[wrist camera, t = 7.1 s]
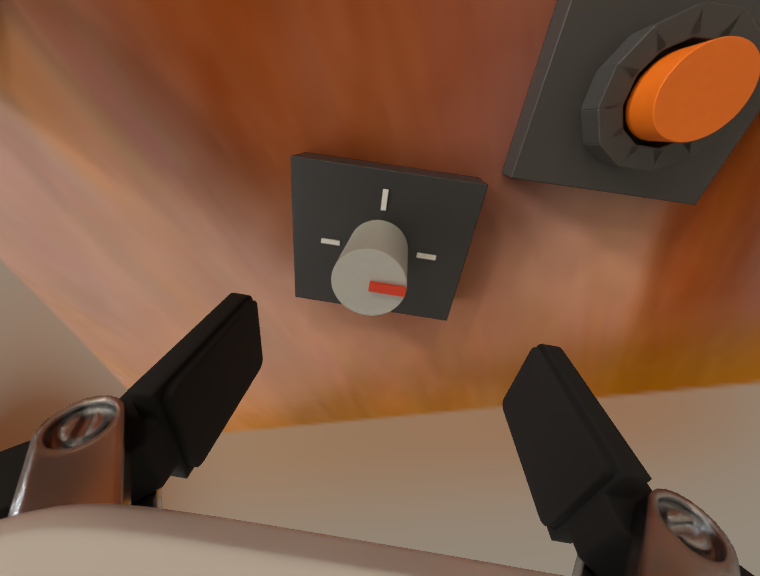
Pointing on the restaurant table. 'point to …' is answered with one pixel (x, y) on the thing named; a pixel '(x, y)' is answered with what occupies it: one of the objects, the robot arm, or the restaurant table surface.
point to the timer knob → (372, 269)
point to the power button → (693, 90)
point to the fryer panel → (388, 203)
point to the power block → (622, 98)
